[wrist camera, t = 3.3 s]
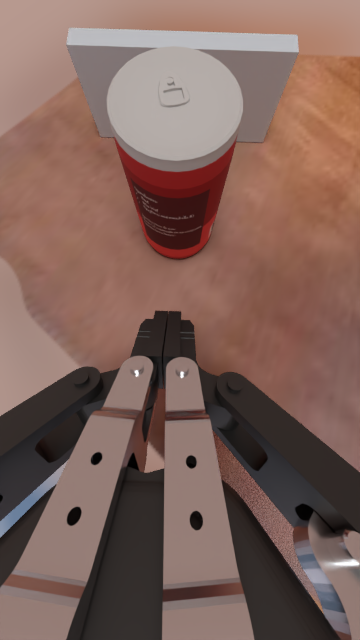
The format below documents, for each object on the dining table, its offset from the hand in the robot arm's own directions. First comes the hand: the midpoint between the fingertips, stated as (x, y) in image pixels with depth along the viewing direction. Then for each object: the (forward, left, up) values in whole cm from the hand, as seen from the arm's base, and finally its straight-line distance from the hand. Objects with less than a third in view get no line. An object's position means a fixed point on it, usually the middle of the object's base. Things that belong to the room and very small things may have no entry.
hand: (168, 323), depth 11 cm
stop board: (0, -27, -8) cm, 29 cm away
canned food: (0, -12, -8) cm, 15 cm away
